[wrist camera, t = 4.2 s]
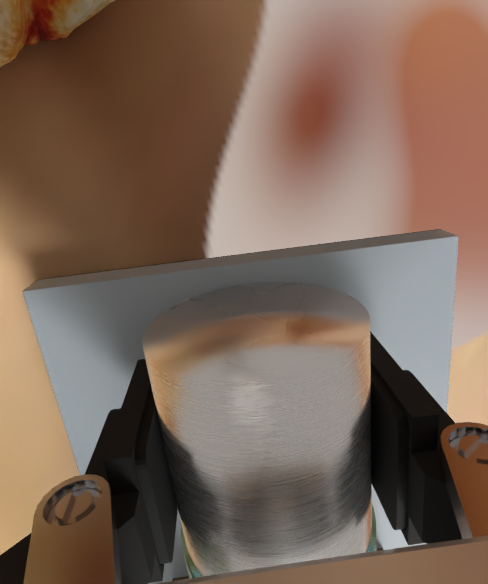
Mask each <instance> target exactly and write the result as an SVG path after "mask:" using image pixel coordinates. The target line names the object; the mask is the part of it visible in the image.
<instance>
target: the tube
mask: <svg viewBox="0 0 488 584" xmlns="http://www.w3.org/2000/svg"><path fill="white" fill-rule="evenodd" d="M142 345H143V351H144V355H145V360H146V364H147V369H148V374H149V378H150V383H151V387H152V392H153V396H154V401H155V406H156V410H157V415H158V419H159V424H160V428H161V433H162V437H163V442H164V447H165V451H166V456H167V460H168V465H169V469H170V474H171V479H172V483H173V488H174V492H175V497H176V501H177V506H178V511H179V515H180V520H181V542H182V549H183V553H184V558H185V562H186V566H187V571H188V575H189V579H190V578H196V577H203V576H209V575H216V574H222V573H229V572H236V571H243V570H249V569H256V568H263V567H270V566H277V565H283V564H290V563H297V562H304V561H311V560H318V559H325V558H331V557H338V556H345V555H352V554H359V553H366V552H373V551H376V517H375V512H374V508H373V505H372V480H371V364H370V316H369V314H368V311H367V310H366V308H365V307H364V306H363V305H362V304H361V303H360V302H359V301H358V300H356V299H355V298H353V297H351V296H350V295H347V294H345V293H343V292H340V291H338V290H335V289H331V288H327V287H323V286H318V285H312V284H304V283H290V282H269V283H255V284H246V285H239V286H233V287H228V288H223V289H219V290H215V291H211V292H208V293H204V294H201V295H198V296H195V297H192V298H190V299H187V300H185V301H183V302H181V303H178V304H176V305H174V306H173V307H171V308H169V309H168V310H166V311H164V312H163V313H162V314H160V315H159V316H157V317H156V318H155V319H154V320H153V321H152V322H151V323H150V325H149V326H148V327H147V329H146V331H145V332H144V335H143V339H142Z"/></svg>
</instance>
